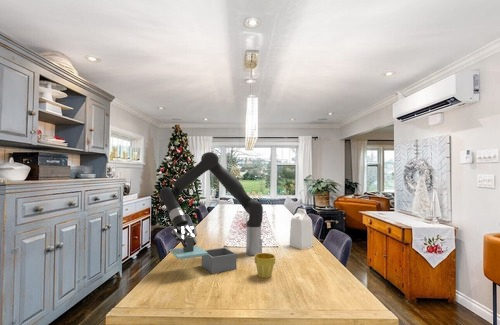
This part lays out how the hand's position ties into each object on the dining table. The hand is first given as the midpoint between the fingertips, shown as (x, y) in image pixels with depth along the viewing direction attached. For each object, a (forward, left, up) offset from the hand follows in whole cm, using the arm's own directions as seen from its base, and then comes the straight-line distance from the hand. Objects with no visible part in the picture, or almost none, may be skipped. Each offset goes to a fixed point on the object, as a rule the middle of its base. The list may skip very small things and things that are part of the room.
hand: (190, 245), depth 138 cm
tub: (-17, -2, -14) cm, 22 cm away
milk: (-86, -14, -14) cm, 88 cm away
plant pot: (-32, +20, -14) cm, 40 cm away
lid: (0, -2, -4) cm, 4 cm away
